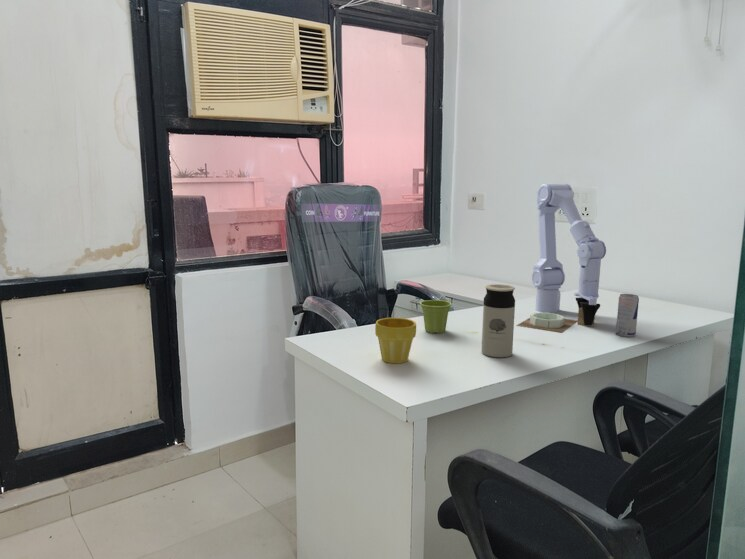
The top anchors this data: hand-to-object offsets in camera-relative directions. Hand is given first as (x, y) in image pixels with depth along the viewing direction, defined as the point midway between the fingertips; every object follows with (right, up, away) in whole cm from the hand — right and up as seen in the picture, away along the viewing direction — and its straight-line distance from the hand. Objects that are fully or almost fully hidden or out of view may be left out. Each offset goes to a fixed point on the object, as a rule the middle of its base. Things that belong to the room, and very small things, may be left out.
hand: (585, 322), depth 172 cm
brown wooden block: (0, -1, 0) cm, 1 cm away
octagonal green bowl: (-12, 0, 0) cm, 12 cm away
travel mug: (-34, -6, -27) cm, 44 cm away
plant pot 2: (-48, -2, -5) cm, 48 cm away
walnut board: (-12, -1, +1) cm, 12 cm away
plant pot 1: (-61, -7, -32) cm, 69 cm away
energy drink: (+9, -3, -8) cm, 12 cm away
